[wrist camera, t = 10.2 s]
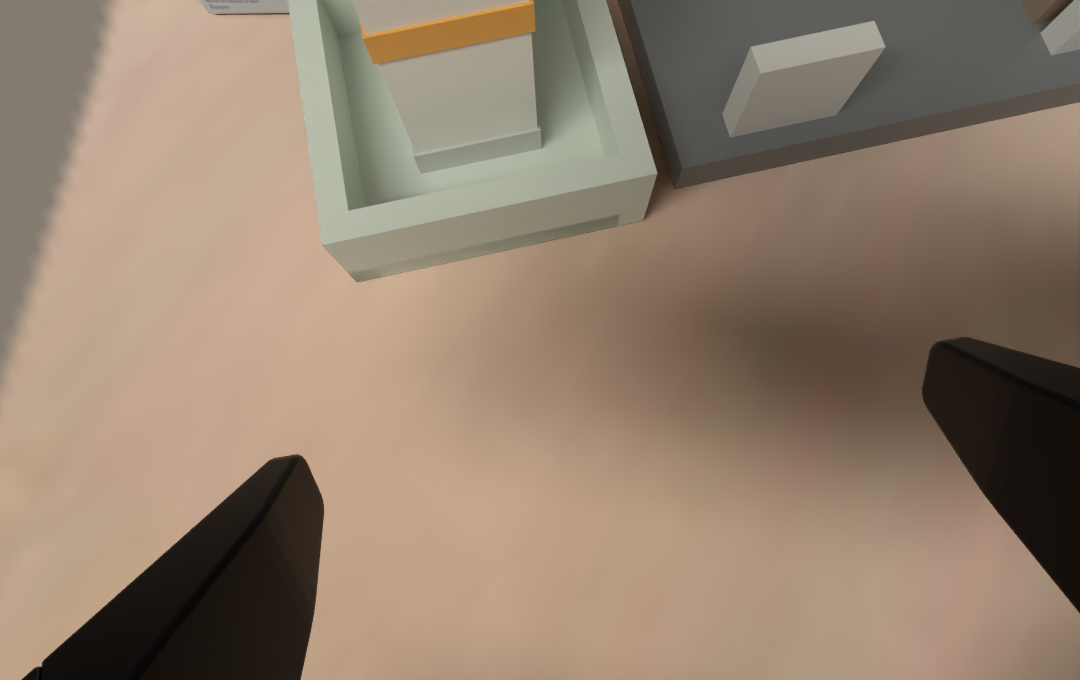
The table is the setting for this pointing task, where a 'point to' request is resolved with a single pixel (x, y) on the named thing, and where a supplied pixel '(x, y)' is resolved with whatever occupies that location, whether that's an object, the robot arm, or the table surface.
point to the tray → (478, 188)
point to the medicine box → (245, 6)
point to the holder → (840, 73)
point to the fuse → (457, 75)
